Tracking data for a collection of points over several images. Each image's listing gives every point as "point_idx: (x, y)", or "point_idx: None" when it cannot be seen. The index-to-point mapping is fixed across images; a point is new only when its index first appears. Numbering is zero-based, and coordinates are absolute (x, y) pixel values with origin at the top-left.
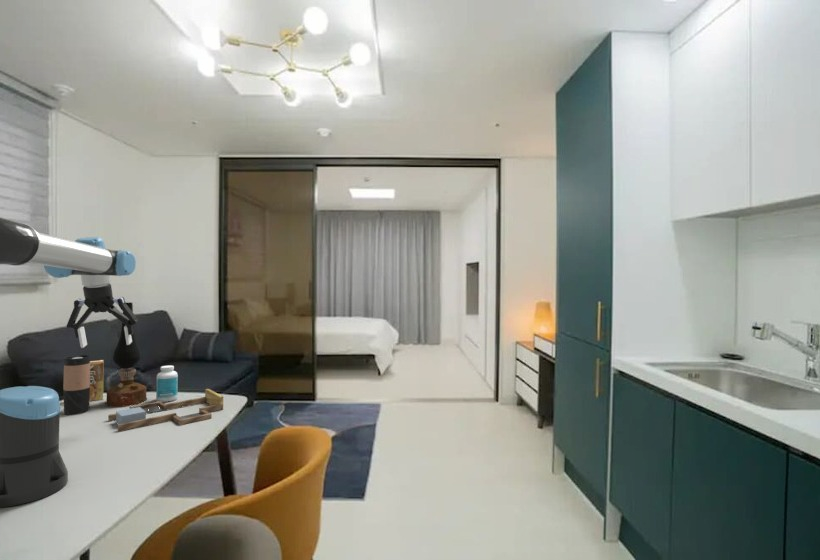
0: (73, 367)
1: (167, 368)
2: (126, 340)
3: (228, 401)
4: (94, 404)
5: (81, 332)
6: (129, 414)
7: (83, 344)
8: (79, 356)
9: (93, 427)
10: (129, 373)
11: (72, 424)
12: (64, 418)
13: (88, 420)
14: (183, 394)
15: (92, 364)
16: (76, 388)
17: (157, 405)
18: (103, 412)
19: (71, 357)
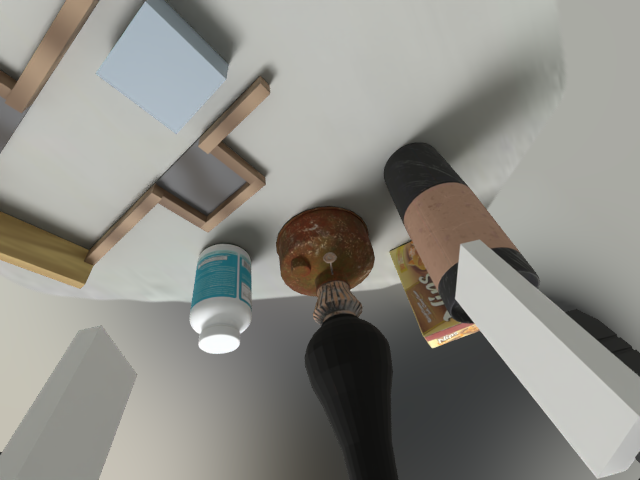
0: None
1: (206, 334)
2: (75, 366)
3: None
4: (392, 221)
5: (576, 376)
6: (130, 29)
7: (474, 268)
8: None
9: (272, 2)
10: (322, 301)
11: (367, 46)
12: (419, 110)
13: (336, 89)
14: None
15: (448, 322)
16: (432, 192)
17: (208, 215)
18: (333, 163)
19: None
